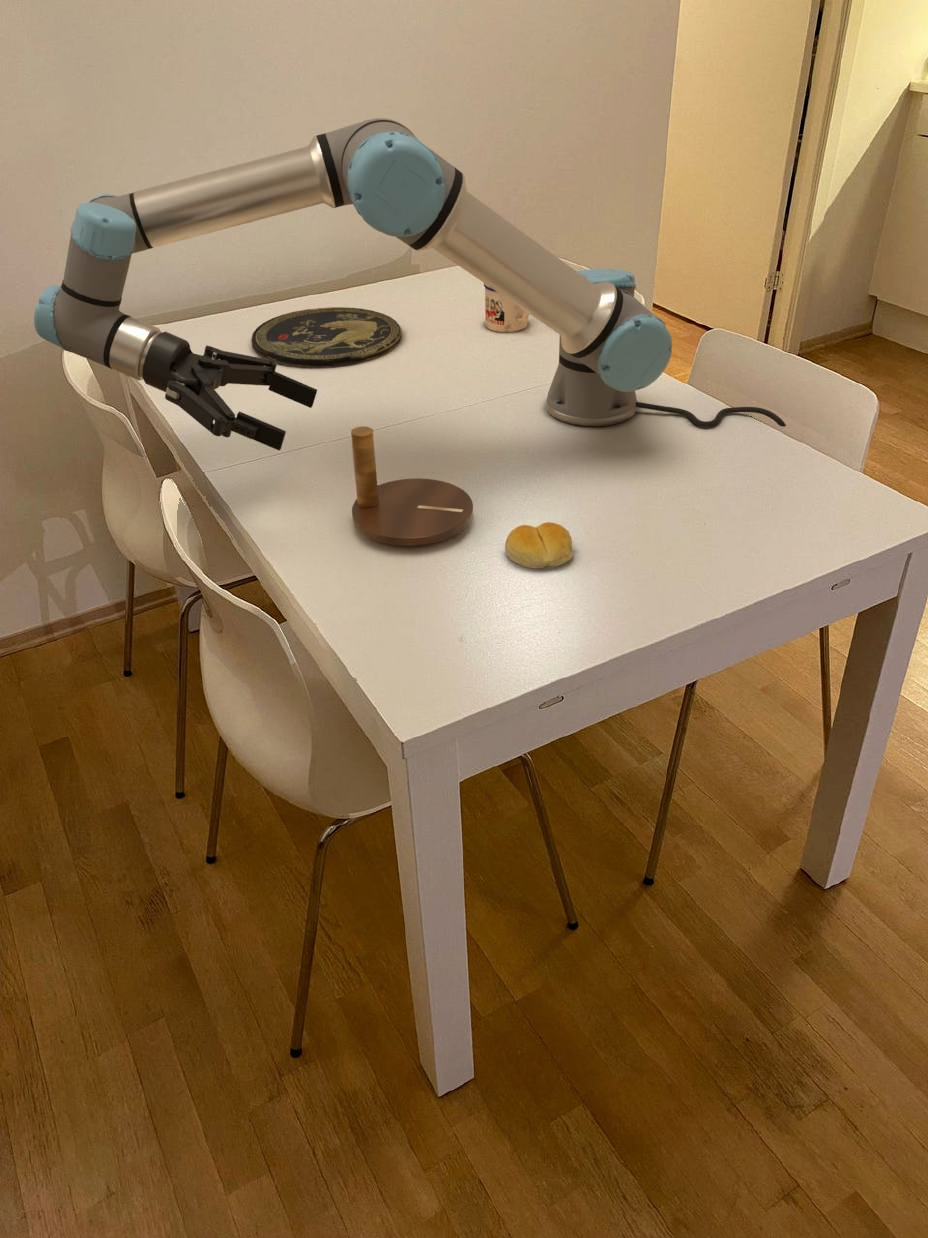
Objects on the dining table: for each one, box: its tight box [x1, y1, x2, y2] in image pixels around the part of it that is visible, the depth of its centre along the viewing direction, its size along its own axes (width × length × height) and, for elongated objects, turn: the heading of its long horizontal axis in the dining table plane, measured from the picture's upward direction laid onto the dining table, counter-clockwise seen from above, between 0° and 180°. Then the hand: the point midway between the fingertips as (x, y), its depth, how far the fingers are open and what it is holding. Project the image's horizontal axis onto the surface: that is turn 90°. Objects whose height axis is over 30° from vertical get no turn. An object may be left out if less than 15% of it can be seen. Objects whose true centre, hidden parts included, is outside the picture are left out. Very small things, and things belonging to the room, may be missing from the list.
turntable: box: [350, 425, 474, 546], centre depth 138 cm, size 17×17×12 cm
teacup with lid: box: [483, 283, 530, 333], centre depth 202 cm, size 12×9×12 cm
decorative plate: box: [251, 306, 403, 368], centre depth 202 cm, size 30×2×30 cm
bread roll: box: [504, 521, 575, 569], centre depth 134 cm, size 8×9×4 cm
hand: (299, 419), depth 137 cm, fingers open, 13 cm apart
